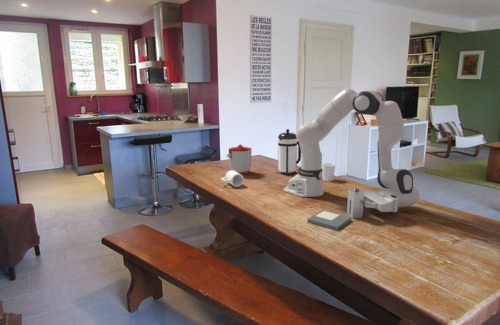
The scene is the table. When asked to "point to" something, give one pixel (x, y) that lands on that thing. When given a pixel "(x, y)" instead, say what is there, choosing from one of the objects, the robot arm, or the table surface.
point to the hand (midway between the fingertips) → (359, 201)
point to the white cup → (328, 171)
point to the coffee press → (288, 152)
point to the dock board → (329, 220)
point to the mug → (233, 178)
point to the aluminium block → (355, 203)
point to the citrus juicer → (240, 159)
